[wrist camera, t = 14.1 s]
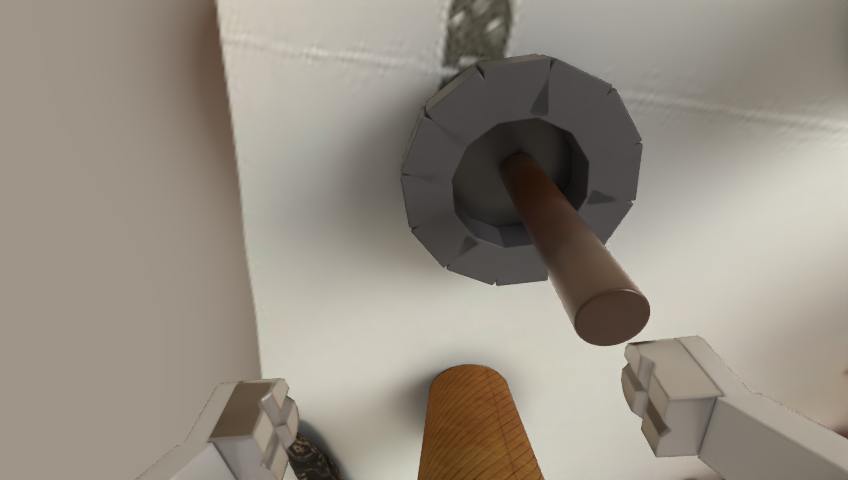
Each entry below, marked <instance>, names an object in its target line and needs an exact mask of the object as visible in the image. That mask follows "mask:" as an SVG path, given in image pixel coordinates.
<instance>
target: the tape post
mask: <svg viewBox="0 0 848 480" xmlns="http://www.w3.org/2000/svg"><path fill="white" fill-rule="evenodd" d="M571 167H572V147H571V145H570V144H569V142H568V141H567V139H566V137H565V136H564V134H563V132H562V131H561V129H560V128H558V127H556V126H554V125H552V124H549V123H547V122H545V121H542V120H540V119H538V118H535V119H528V120H521V121H514V122H507V123H499V124H497V125H496V126H494V127H493V128H492V129H490V130H489V131H488V132H486V133H485V134H484V135H482V136H481V137H480V138H478V139H477V140H475V141H474V142H473V143H471V144H470V145H469V146H467V148H466V150H465V152H464V154H463V156H462V158H461V161H460V163H459V165H458V167H457V169H456V171H455V174H454V176H453V178H452V189H453V196H454V198H455V199H456V200H457V201H458V203H459V204H460V205H461V206H462V208H463V209H464V210H465V211H466V213H467V214H468V215H469V216H470V218H473V219H476V220H478V221H481V222H484V223H486V224H489V225H492V226H494V227H505V226H513V225H521V224H524V226H525V228H526V231H527V233H528V235H529V237H530V239H531V241H532V243H533V245H534V247H535V249H536V251H537V253H538V255H539V257H540V259H541V261H542V263H543V265H544V267H545V269H546V271H547V274H548V276H549V278H550V280H551V282H552V284H553V286H554V288H555V290H556V292H557V294H558V296H559V298H560V300H561V302H562V304H563V306H564V308H565V310H566V312H567V314H568V316H569V319H570V321H571V323H572V325H573V327H574V329H575V331H576V333H577V334H578V335H579V337H580V338H582V339H583V340H584V341H586V342H588V343H590V344H593V345H598V346H611V345H617V344H620V343H623V342H625V341H628V340H629V339H631V338H633V337H634V336H636V335H637V334H638V333H639V332H640V331H641V330H642V329H643V328H644V327H645V325H646V324H647V322H648V319H649V316H650V306H649V302H648V300H647V299H646V297H645V296H644V295H643V294H642V292H641V291H640V290H639V289H638V287H637V286H636V285H635V284H634V282H633V281H632V280H631V279H630V277H629V276H628V275H627V274H626V272H625V271H624V270H623V269H622V267H621V266H620V265H619V264H618V262H617V261H616V260H615V259H614V257H613V256H612V255H611V254H610V252H609V251H608V250H607V249H606V247H605V246H604V245H603V244H602V242H601V241H600V240H599V239H598V237H597V236H596V235H595V234H594V232H593V231H592V230H591V229H590V227H589V226H588V225H587V224H586V222H585V221H584V220H583V219H582V217H581V216H580V215H579V214H578V212H577V211H576V210H575V209H574V207H573V206H572V205H571V204H570V202H569V201H568V200H567V199H566V197H565V196H564V195H563V192H564V191H565V189H566V187H567V186H568V184H569V183H570V181H571Z"/></svg>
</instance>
